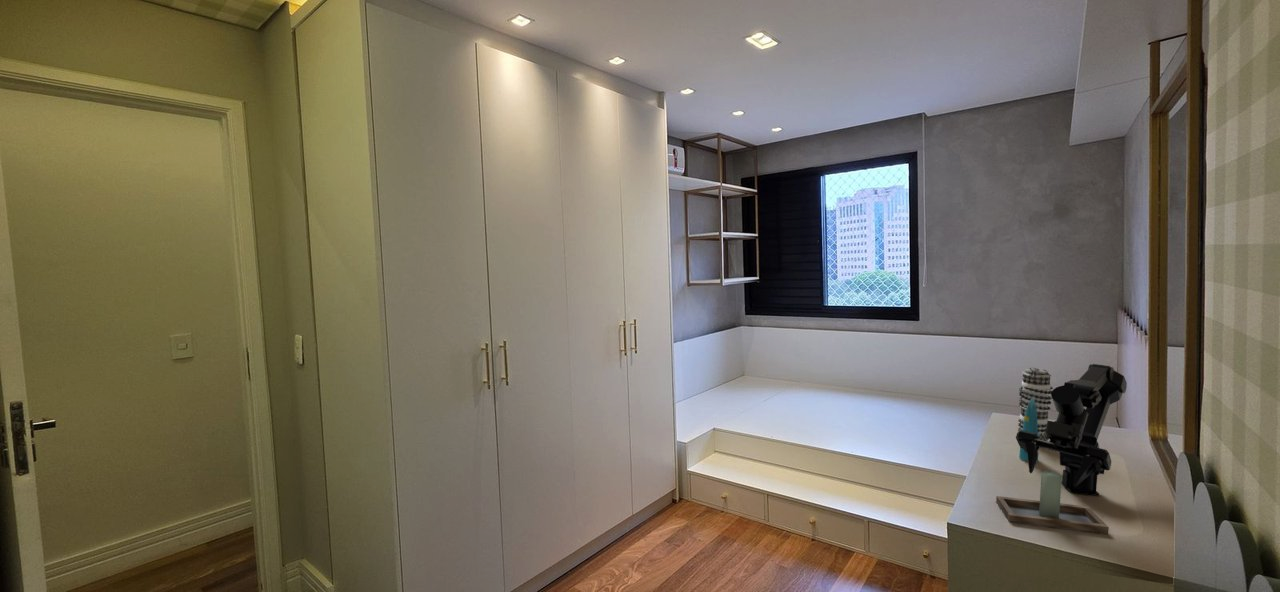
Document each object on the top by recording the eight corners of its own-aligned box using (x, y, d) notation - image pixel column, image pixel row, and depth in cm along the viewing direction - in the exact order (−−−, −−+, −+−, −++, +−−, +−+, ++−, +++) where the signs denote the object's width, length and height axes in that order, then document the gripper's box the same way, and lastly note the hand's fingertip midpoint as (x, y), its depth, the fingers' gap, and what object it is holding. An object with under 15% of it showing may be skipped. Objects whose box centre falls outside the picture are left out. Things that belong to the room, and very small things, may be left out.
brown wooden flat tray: (1087, 513, 137) (1087, 506, 137) (1108, 534, 127) (1108, 527, 127) (996, 502, 143) (996, 495, 143) (1009, 522, 133) (1009, 515, 133)
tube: (1020, 453, 175) (1023, 395, 173) (1039, 457, 172) (1042, 398, 170) (1017, 461, 169) (1021, 401, 167) (1037, 465, 166) (1040, 404, 164)
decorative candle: (1056, 446, 181) (1061, 372, 178) (1028, 446, 181) (1032, 373, 178) (1036, 436, 190) (1041, 366, 187) (1010, 436, 190) (1014, 366, 187)
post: (1049, 511, 137) (1051, 470, 136) (1063, 519, 133) (1066, 476, 132) (1034, 513, 137) (1037, 471, 136) (1048, 521, 133) (1051, 477, 132)
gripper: (1020, 400, 143) (1001, 450, 138) (1111, 418, 128) (1094, 475, 123) (1029, 422, 149) (1012, 472, 143) (1118, 442, 134) (1102, 498, 128)
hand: (1052, 478), depth 134 cm, fingers open, 9 cm apart
